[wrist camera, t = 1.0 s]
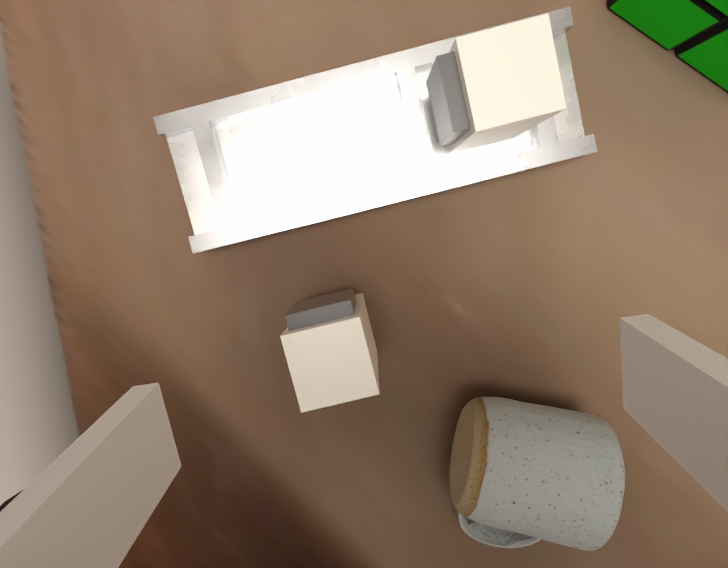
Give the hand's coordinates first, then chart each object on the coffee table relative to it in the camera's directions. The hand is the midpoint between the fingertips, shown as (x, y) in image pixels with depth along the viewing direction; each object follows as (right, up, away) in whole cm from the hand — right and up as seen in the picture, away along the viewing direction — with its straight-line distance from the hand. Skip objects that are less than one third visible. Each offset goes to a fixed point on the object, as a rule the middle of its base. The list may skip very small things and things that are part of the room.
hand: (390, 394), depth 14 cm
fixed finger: (+5, +13, +15) cm, 21 cm away
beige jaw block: (-2, 0, +18) cm, 19 cm away
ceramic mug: (+9, -8, +20) cm, 23 cm away
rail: (0, +12, +17) cm, 21 cm away
